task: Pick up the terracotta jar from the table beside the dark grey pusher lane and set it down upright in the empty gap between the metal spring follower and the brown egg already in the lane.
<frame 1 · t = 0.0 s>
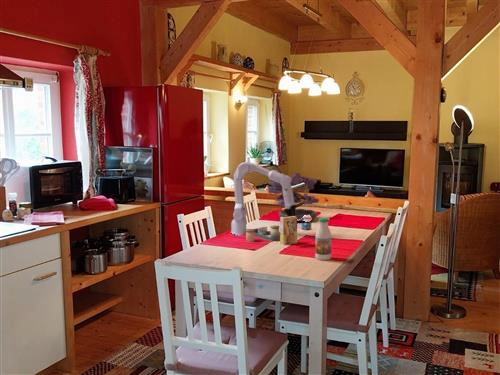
hand: (292, 218, 284), 11 cm above the table, tool pointing down, fingers open, 7 cm apart
milk bottle: (323, 258, 237), on the table
bonsai tree: (293, 219, 337), on the table
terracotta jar: (250, 242, 273), on the table
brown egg: (275, 238, 277), point 1 cm above the table, touching pusher lane
spring follower: (261, 230, 288), point 3 cm above the table, slide at 0.0 cm
pusher lane: (267, 237, 283), on the table
candy box: (288, 244, 266), on the table
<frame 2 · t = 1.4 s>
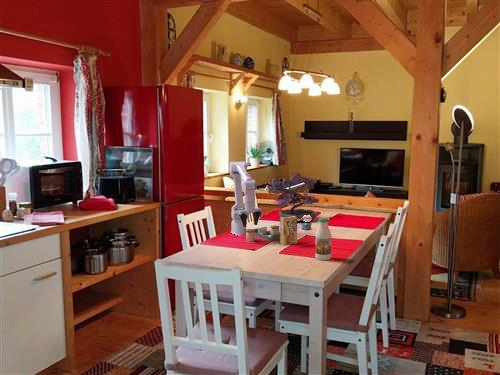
hand: (250, 225, 272), 9 cm above the table, tool pointing down, fingers open, 7 cm apart
nothing on the table moved.
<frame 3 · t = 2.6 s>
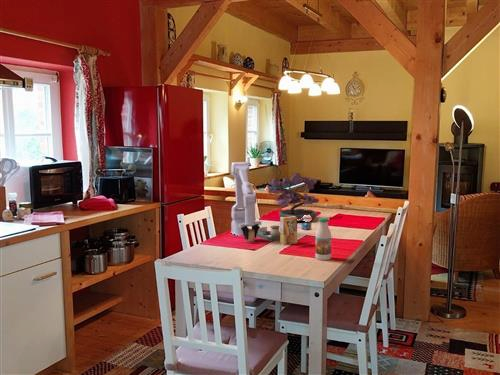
hand: (250, 238, 273), 2 cm above the table, tool pointing down, fingers closed on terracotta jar, 5 cm apart
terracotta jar: (250, 242, 273), on the table, touching gripper
everything else where it was.
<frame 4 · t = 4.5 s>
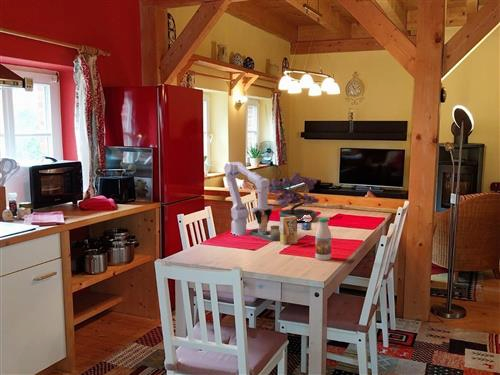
hand: (263, 223, 279), 9 cm above the table, tool pointing down, fingers closed on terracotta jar, 5 cm apart
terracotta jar: (263, 226, 279), point 7 cm above the table, touching gripper
everything else where it was.
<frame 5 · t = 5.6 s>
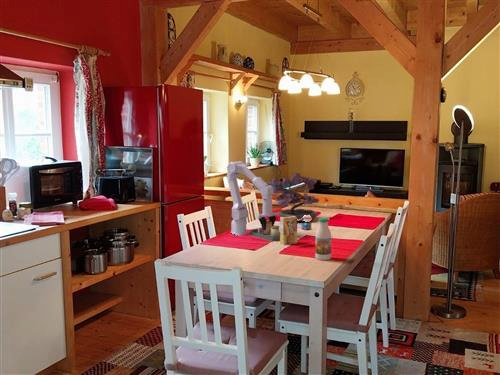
hand: (267, 229, 282), 5 cm above the table, tool pointing down, fingers closed on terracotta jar, 5 cm apart
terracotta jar: (267, 233, 282), point 3 cm above the table, touching gripper
everything else where it was.
when the fingers open (4 cm above the table, at t = 6.3 s): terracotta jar stays where it is, resting on pusher lane.
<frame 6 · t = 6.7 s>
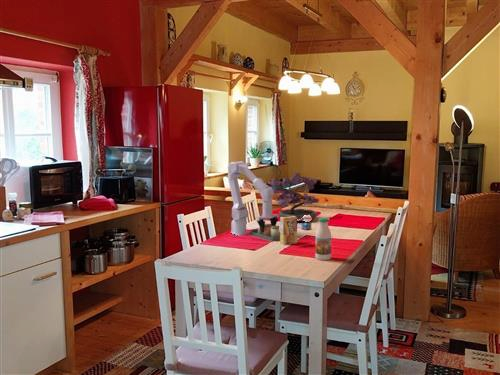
hand: (267, 231, 282), 4 cm above the table, tool pointing down, fingers open, 7 cm apart
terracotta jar: (267, 236, 283), point 1 cm above the table, touching pusher lane
everything else where it was.
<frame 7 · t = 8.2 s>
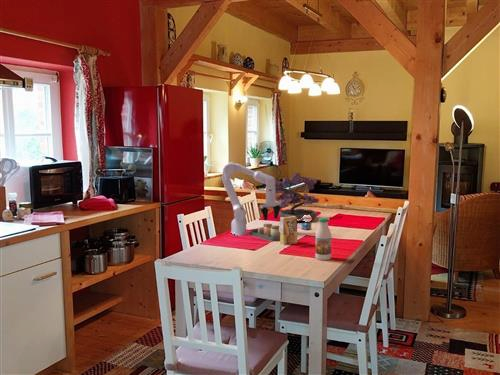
hand: (270, 219, 290), 9 cm above the table, tool pointing down, fingers open, 7 cm apart
nothing on the table moved.
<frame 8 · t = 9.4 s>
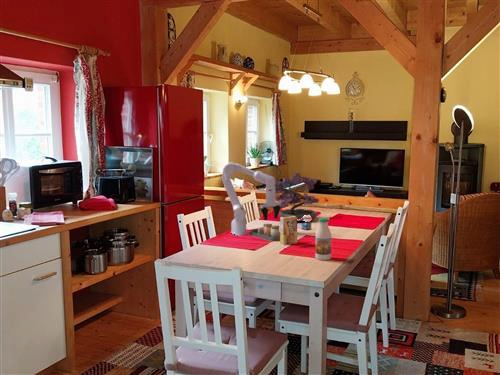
hand: (270, 219, 290), 9 cm above the table, tool pointing down, fingers open, 7 cm apart
nothing on the table moved.
at the end: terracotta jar 0.2 cm off-centre on the pusher lane, point 0.9 cm above the pusher lane's base; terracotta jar tilted 0°; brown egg moved 0.0 cm from its start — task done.
